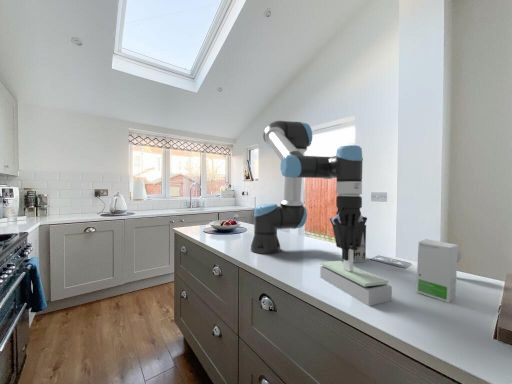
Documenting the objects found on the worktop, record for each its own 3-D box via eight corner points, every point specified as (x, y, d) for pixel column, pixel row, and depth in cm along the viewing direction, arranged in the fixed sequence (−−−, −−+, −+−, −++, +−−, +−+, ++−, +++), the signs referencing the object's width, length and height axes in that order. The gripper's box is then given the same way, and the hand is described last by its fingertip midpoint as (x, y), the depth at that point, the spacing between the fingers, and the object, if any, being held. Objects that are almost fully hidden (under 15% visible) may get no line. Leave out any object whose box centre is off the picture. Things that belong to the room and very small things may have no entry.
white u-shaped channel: (320, 277, 82) (320, 266, 82) (339, 274, 85) (339, 263, 85) (368, 305, 62) (368, 290, 62) (391, 300, 65) (391, 286, 65)
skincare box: (415, 292, 71) (416, 241, 70) (423, 287, 75) (424, 238, 74) (450, 303, 64) (451, 246, 64) (457, 297, 68) (458, 243, 68)
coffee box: (366, 262, 99) (366, 224, 99) (350, 261, 101) (350, 224, 100) (361, 256, 108) (361, 221, 108) (346, 255, 109) (346, 221, 109)
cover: (320, 264, 82) (320, 262, 82) (339, 262, 85) (339, 260, 85) (364, 286, 63) (364, 283, 63) (388, 283, 66) (388, 280, 66)
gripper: (340, 195, 68) (339, 276, 68) (374, 195, 73) (373, 271, 73) (324, 195, 75) (323, 268, 75) (356, 195, 80) (355, 264, 80)
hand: (348, 269), depth 74 cm, fingers closed
